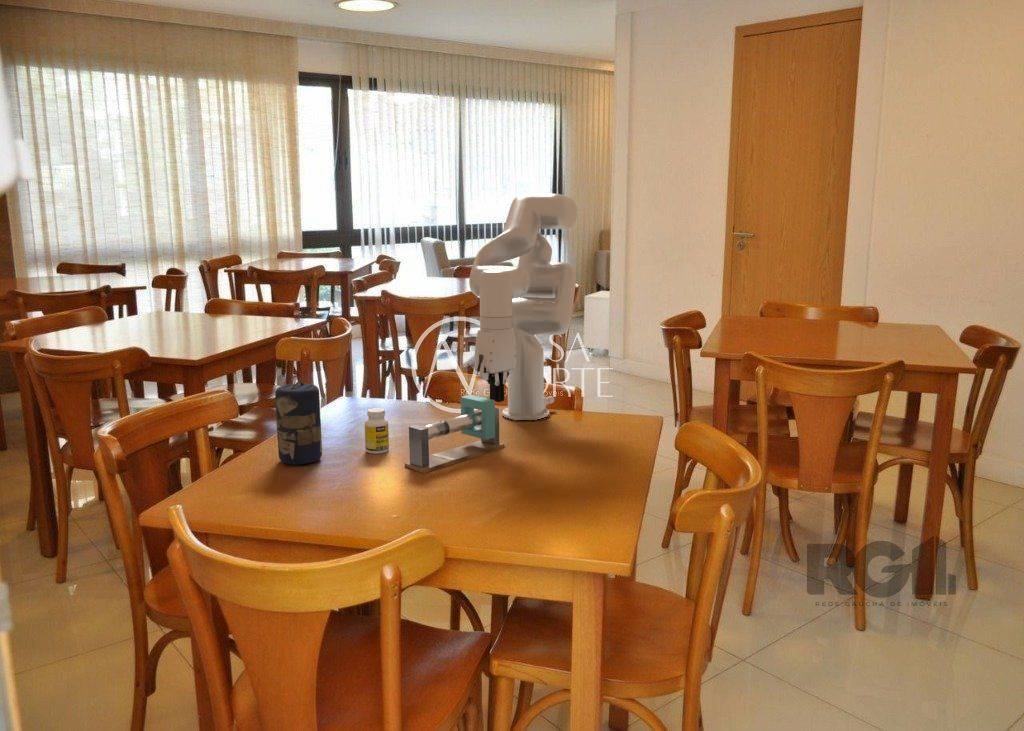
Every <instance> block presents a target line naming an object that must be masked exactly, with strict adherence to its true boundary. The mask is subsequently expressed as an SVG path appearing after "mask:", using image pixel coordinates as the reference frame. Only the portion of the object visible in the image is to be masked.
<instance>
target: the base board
mask: <svg viewBox="0 0 1024 731" xmlns="http://www.w3.org/2000/svg"><path fill="white" fill-rule="evenodd" d="M503 448H506V447H505V443H502V442H500V441H499V444H496V445H491V444H487V443H483V442H481V439H480V440H476V441H474V442H469V443H466V444H464V445H461V446H457V447H453V448H450V449H447V450H443V451H441V452H438V453H436V452H435V453H433V454H431V455H430V454H429V466H427V467H424V468H421V467H418V466H415V465H412V464H410V461H408V462H407V461H406V462H404V467H405V468H407V469H409V470H414V471H417V472H419V473H422V474H427V473H429V472H432V471H435V470H438V469H441V468H445V467H447V466H451V465H454V464H457V463H461V462H463V461H466V460H469V459H474V458H475V457H479V456H482V455H485V454H487V453H490V452H495V451H497V450H499V449H503Z"/></svg>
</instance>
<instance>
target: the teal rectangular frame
mask: <svg viewBox="0 0 1024 731" xmlns="http://www.w3.org/2000/svg"><path fill="white" fill-rule="evenodd" d="M495 406H496V404H495V400H492V399H490V398H487V397H482V396H477V395H473V394H467V395H463V396H460V416H462V415H466V414H469V413H473V412H475V409H476V410H478V411H480V410H481V412H482V428H481V427H479V426H475V427H472V428H468V429H465V430H461V431H460V433H461V434H462V435H467V436H470V437H474V438H478V439H480V440H481V439H485V440H487V439H490V438H494V437H495V408H496V407H495Z"/></svg>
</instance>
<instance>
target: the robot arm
mask: <svg viewBox="0 0 1024 731" xmlns="http://www.w3.org/2000/svg"><path fill="white" fill-rule="evenodd" d="M577 217H578V207H577V204H576V202H575V200H574V199H573V197H571V196H568V195H565V194H562V193H561V194H560V193H523V194H520V195H518V196H516V197H515V198H514V199H513V200H512V202H511V204H510V207H509V210H508V213H507V217H506V221H505V223H504V226H503V229H502V233H500V234H499V235H497V236H495V237H494V238H492V239H491V240H489V241H488V242H487V243H486V244H484V245H483V246H482V247H481V249H479V250H478V252H477V254H476V255H475V258H474V260H473V264H472V266H471V269H470V273H469V274H470V275H469V278H468V279H469V282H468V283H469V289H470V291H471V293H473V295H475V296H476V297H479V330H477V334H476V338H475V347H474V371H475V372H477V373H478V378H479V379H481V380H485V381H486V382H487V385H489V399H492V400H495V402H496V403H501V402H505V385H506V384H507V407H505V408H504V409H503V410H501V411H502V412H501V414H502V415H503V416H504V417H503V416H502V417H503V418H505V417H506V418H505V419H507V418H509V419H508V420H510V419H514V420H513V421H516V420H535V421H538V420H537V419H541V418H543V417H546V416H547V415H548V414H549V415H550V410H549V409H548V408H547V407H546V406H547V405H550V404H553V403H554V402H555V397H554V396H553V395H551V396H550V395H549V396H547V397H546V396H544V390H545V388H544V385H545V384H544V382H545V380H544V376H545V375H544V369H545V368H544V366H545V364H544V359H545V354H544V348H543V346H542V344H541V342H540V341H539V339H538V338H537V336H536V335H545V336H546V335H547V336H548V335H550V336H561V335H564V334H566V333H567V331H568V330H569V329H570V326H571V321H572V320H571V319H572V314H573V308H574V302H575V301H574V300H575V294H576V293H575V292H576V284H577V283H576V281H577V280H576V279H577V278H576V272H575V269H574V266H572V264H570V263H567V262H563V261H552V255H553V248H552V246H551V244H550V243H549V241H548V240H547V239H546V237H545V236H544V235H543V234H542V233H541V232H540V230H570V229H572V228H573V227H574V225H575V224H576V222H577ZM516 258H517V259H518V263H517V266H516V265H515V266H514V265H500V264H501V263H504V262H506V261H511V260H513V259H516ZM541 420H542V419H541Z"/></svg>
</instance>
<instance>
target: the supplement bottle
mask: <svg viewBox="0 0 1024 731" xmlns="http://www.w3.org/2000/svg"><path fill="white" fill-rule="evenodd" d="M366 411H367V413H366V414H367V418H366V419H365V420H364V445H365V446H364V447H365V451H366V453H368V454H374V455H379V454H385V453H387V452H388V451H389V449H390V440H389V439H390V437H389V420H388V419H387V418H386V417H385V416H386V409H385V408H382V407H373V408H369V409H367V410H366Z"/></svg>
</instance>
